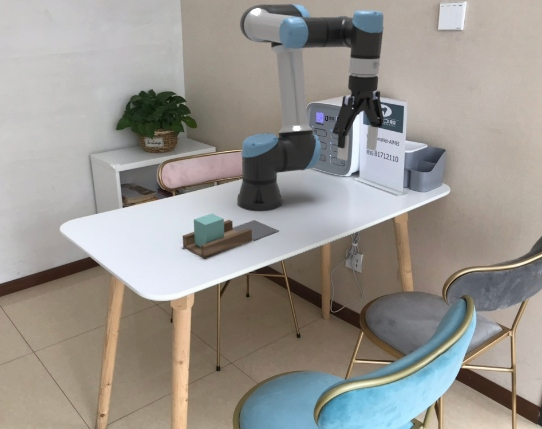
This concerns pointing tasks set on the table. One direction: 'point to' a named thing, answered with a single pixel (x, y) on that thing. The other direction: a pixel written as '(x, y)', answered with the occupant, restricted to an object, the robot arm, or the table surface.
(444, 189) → the table surface
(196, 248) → the chute
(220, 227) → the block
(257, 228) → the mat
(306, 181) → the table surface
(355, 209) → the table surface
